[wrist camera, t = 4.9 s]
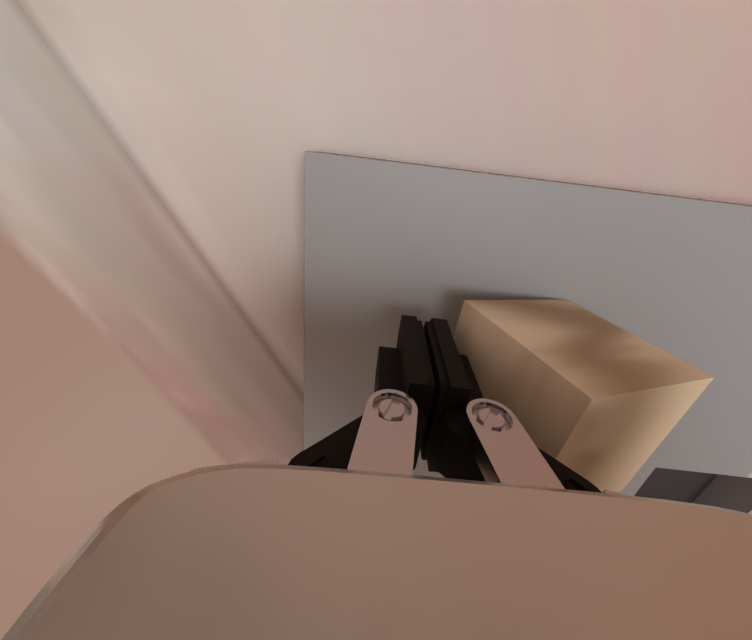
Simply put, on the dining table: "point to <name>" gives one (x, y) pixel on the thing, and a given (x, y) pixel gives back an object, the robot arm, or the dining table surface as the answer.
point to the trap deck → (532, 291)
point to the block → (578, 383)
